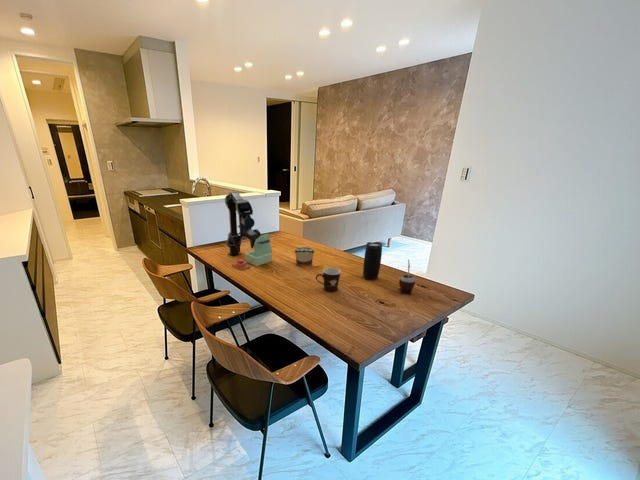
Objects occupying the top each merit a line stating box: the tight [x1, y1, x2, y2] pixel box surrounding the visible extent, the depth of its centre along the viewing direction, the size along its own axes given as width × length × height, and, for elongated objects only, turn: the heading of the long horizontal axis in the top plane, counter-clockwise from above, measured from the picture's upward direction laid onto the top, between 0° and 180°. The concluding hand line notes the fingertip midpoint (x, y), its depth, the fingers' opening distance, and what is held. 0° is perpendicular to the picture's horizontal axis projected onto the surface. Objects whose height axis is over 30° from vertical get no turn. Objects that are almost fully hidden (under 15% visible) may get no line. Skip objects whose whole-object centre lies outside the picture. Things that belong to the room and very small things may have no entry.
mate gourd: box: [398, 259, 416, 295], centre depth 145 cm, size 8×8×15 cm
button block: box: [232, 260, 251, 271], centre depth 182 cm, size 10×6×3 cm, turn 41°
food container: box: [293, 246, 315, 267], centre depth 183 cm, size 12×6×10 cm, turn 84°
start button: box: [237, 258, 245, 264], centre depth 181 cm, size 4×4×2 cm
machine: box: [244, 250, 273, 267], centre depth 190 cm, size 12×13×5 cm
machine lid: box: [253, 233, 273, 257], centre depth 181 cm, size 12×13×5 cm
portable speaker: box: [362, 241, 383, 281], centre depth 160 cm, size 9×9×20 cm
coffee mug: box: [315, 267, 342, 293], centre depth 150 cm, size 12×9×10 cm
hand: (245, 250), depth 173 cm, fingers open, 9 cm apart
